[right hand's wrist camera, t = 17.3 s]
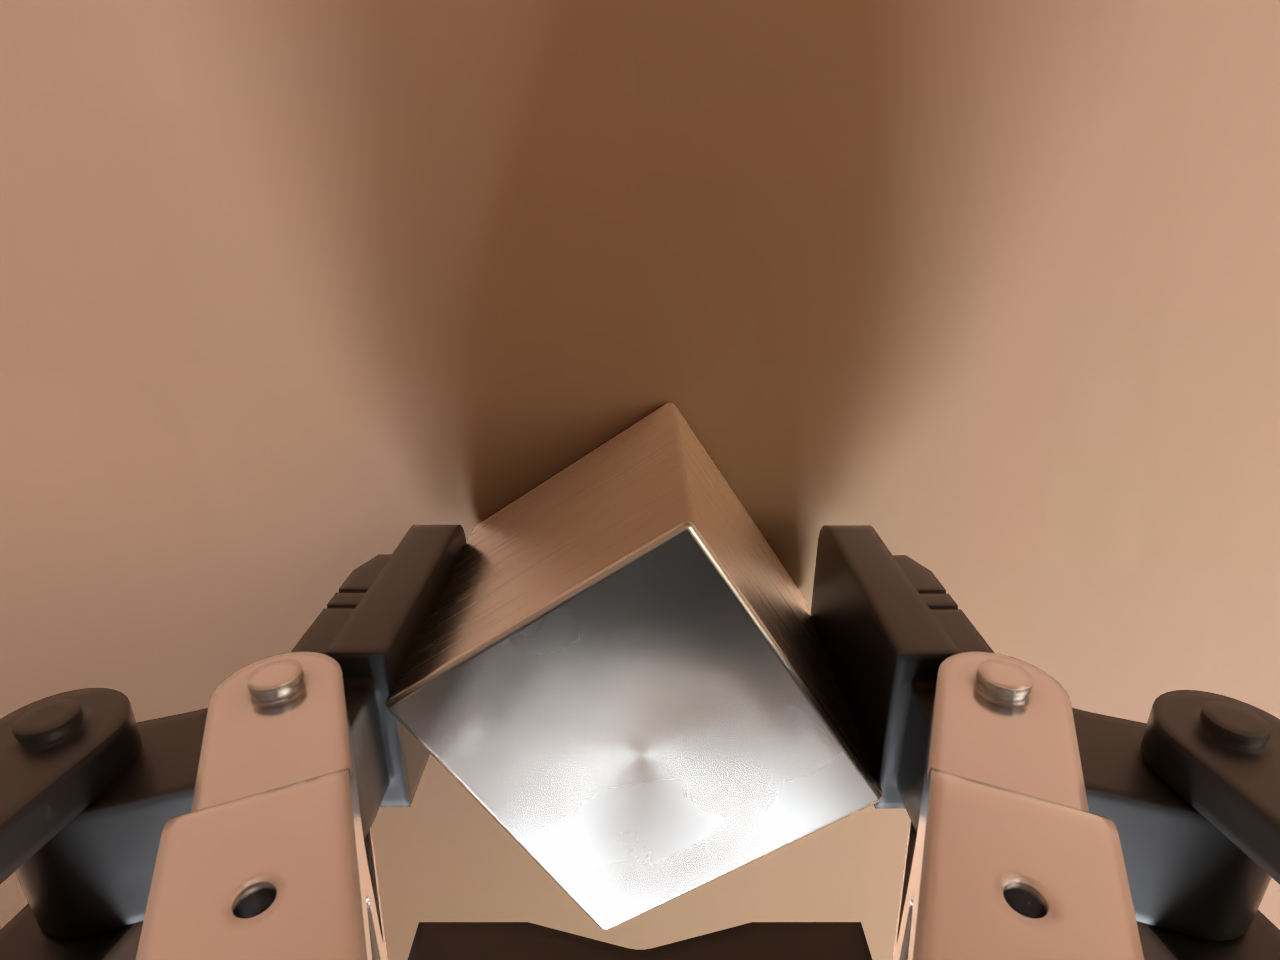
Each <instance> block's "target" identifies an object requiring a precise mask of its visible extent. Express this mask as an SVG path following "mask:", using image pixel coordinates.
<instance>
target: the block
mask: <svg viewBox="0 0 1280 960" xmlns="http://www.w3.org/2000/svg"><path fill="white" fill-rule="evenodd" d="M386 706H387V709H388V710H389V711H390V712H391V713H392V714H393V715H394V716H395V717H396V718H397V719H398V720H399V721H400V722H401V723H402V724H403V725H404V726H405V727H406V728H407V729H408V730H409V731H410V732H411V733H412V734H413V735H414V736H415V738H416V739H417V740H418V741H419V742H420V743H421V744H422V745H423V746H424V747H425V748H426V749H427V750H428V751H429V752H430V753H431V754H432V755H433V756H434V757H435V758H436V759H437V760H438V761H439V762H440V763H441V764H442V765H443V766H444V767H445V768H446V769H447V770H448V771H449V773H450V774H451V775H452V776H453V777H454V778H455V779H456V780H457V781H458V782H459V783H460V784H461V785H462V786H463V787H464V788H465V789H466V790H467V791H468V792H469V793H470V794H471V795H472V796H473V797H474V798H475V799H476V800H477V801H478V802H479V803H480V804H481V805H482V806H483V808H484V809H485V810H486V811H487V812H488V813H489V814H490V815H491V816H492V817H493V818H494V819H495V820H496V821H497V822H498V823H499V824H500V825H501V826H502V827H503V828H504V829H505V830H506V831H507V832H508V833H509V834H510V835H511V836H512V837H513V838H514V839H515V840H516V841H517V842H518V844H519V845H520V846H521V847H522V848H523V849H524V850H525V851H526V852H527V853H528V854H529V855H530V856H531V857H532V858H533V859H534V860H535V861H536V862H537V863H538V864H539V865H540V866H541V867H542V868H543V869H544V870H545V871H546V872H547V873H548V874H549V875H550V876H551V877H552V879H553V880H554V881H555V882H556V883H557V884H558V885H559V886H560V887H561V888H562V889H563V890H564V891H565V892H566V893H567V894H568V895H569V896H570V897H571V898H572V899H573V900H574V901H575V902H576V903H577V904H578V905H579V906H580V907H581V908H582V909H583V910H584V911H585V912H586V914H587V915H588V916H589V917H590V918H591V919H592V920H593V921H594V922H595V923H596V924H597V925H598V926H599V927H600V928H601V929H603V930H608V929H611V928H613V927H615V926H617V925H619V924H621V923H623V922H625V921H627V920H630V919H632V918H634V917H636V916H638V915H640V914H642V913H644V912H646V911H649V910H651V909H653V908H655V907H657V906H659V905H661V904H663V903H665V902H668V901H670V900H672V899H674V898H676V897H678V896H680V895H682V894H684V893H687V892H689V891H691V890H693V889H695V888H697V887H699V886H701V885H703V884H706V883H708V882H710V881H712V880H714V879H716V878H718V877H720V876H722V875H725V874H727V873H729V872H731V871H733V870H735V869H737V868H739V867H741V866H744V865H746V864H748V863H750V862H752V861H754V860H756V859H758V858H761V857H763V856H765V855H767V854H769V853H771V852H773V851H775V850H777V849H780V848H782V847H784V846H786V845H788V844H790V843H792V842H794V841H796V840H799V839H801V838H803V837H805V836H807V835H809V834H811V833H813V832H815V831H818V830H820V829H822V828H824V827H826V826H828V825H830V824H832V823H834V822H837V821H839V820H841V819H843V818H845V817H847V816H849V815H851V814H853V813H856V812H858V811H860V810H862V809H864V808H866V807H868V806H870V805H872V804H875V803H877V802H879V801H880V800H881V799H882V789H881V787H880V784H879V782H878V780H877V777H876V775H875V772H874V770H873V767H872V765H871V762H870V760H869V757H868V755H867V752H866V750H865V748H864V745H863V743H862V740H861V738H860V735H859V733H858V730H857V728H856V725H855V723H854V720H853V718H852V716H851V713H850V711H849V708H848V706H847V703H846V701H845V698H844V696H843V693H842V691H841V688H840V686H839V684H838V681H837V679H836V676H835V674H834V671H833V669H832V666H831V664H830V661H829V659H828V656H827V654H826V652H825V649H824V647H823V644H822V642H821V639H820V637H819V634H818V632H817V629H816V627H815V624H814V622H813V620H812V617H811V614H810V612H809V610H808V607H807V605H806V602H805V600H804V597H803V595H802V594H801V592H800V591H799V589H798V588H797V586H796V585H795V583H794V582H793V580H792V579H791V577H790V576H789V574H788V573H787V571H786V570H785V568H784V567H783V565H782V564H781V562H780V561H779V559H778V558H777V556H776V555H775V553H774V552H773V550H772V549H771V547H770V546H769V544H768V543H767V541H766V540H765V538H764V537H763V535H762V534H761V532H760V531H759V529H758V528H757V526H756V525H755V523H754V522H753V520H752V519H751V517H750V516H749V514H748V513H747V511H746V510H745V508H744V507H743V505H742V504H741V502H740V501H739V499H738V498H737V497H736V495H735V494H734V492H733V491H732V489H731V488H730V486H729V485H728V483H727V482H726V480H725V479H724V477H723V476H722V474H721V473H720V471H719V470H718V468H717V467H716V465H715V464H714V462H713V461H712V459H711V458H710V456H709V455H708V453H707V452H706V450H705V449H704V447H703V446H702V444H701V443H700V441H699V440H698V438H697V437H696V435H695V434H694V432H693V431H692V429H691V428H690V426H689V425H688V423H687V422H686V420H685V419H684V417H683V416H682V414H681V413H680V411H679V410H678V408H677V407H676V405H675V404H673V403H672V402H671V403H667V404H665V405H664V406H662V407H660V408H659V409H657V410H656V411H654V412H653V413H651V414H650V415H648V416H646V417H645V418H643V419H642V420H640V421H639V422H637V423H635V424H634V425H632V426H631V427H629V428H628V429H626V430H625V431H623V432H621V433H620V434H618V435H617V436H615V437H614V438H612V439H610V440H609V441H607V442H606V443H604V444H603V445H601V446H600V447H598V448H596V449H595V450H593V451H592V452H590V453H589V454H587V455H586V456H584V457H582V458H581V459H579V460H578V461H576V462H575V463H573V464H571V465H570V466H568V467H567V468H565V469H564V470H562V471H561V472H559V473H557V474H556V475H554V476H553V477H551V478H550V479H548V480H546V481H545V482H543V483H542V484H540V485H539V486H537V487H536V488H534V489H532V490H531V491H529V492H528V493H526V494H525V495H523V496H521V497H520V498H518V499H517V500H515V501H514V502H512V503H511V504H509V505H507V506H506V507H504V508H503V509H501V510H500V511H498V512H497V513H495V514H493V515H492V516H490V517H489V518H487V519H486V520H484V521H482V522H481V523H479V524H478V525H476V526H475V527H474V528H473V530H472V532H471V534H470V536H469V538H468V540H467V542H466V545H465V547H464V549H463V551H462V553H461V555H460V557H459V558H458V560H457V562H456V564H455V566H454V568H453V570H452V572H451V574H450V576H449V578H448V580H447V582H446V584H445V586H444V588H443V590H442V592H441V594H440V596H439V598H438V600H437V602H436V604H435V606H434V608H433V610H432V612H431V614H430V616H429V618H428V620H427V622H426V624H425V626H424V628H423V630H422V632H421V634H420V636H419V638H418V640H417V642H416V644H415V646H414V648H413V650H412V652H411V654H410V656H409V658H408V659H407V661H406V663H405V665H404V667H403V669H402V671H401V673H400V675H399V677H398V679H397V681H396V683H395V685H394V687H393V689H392V691H391V692H390V694H389V696H388V698H387V699H386Z"/></svg>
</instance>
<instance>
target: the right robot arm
mask: <svg viewBox="0 0 1280 960" xmlns="http://www.w3.org/2000/svg"><path fill="white" fill-rule="evenodd" d="M465 545H466V538H465V533H464V530H463V528H462V526H461V525H413V526H412V527H411V528H410V530H409V531H408V532H407V534H406V535H405V537H404V538H403V540H402V541H401V543H400V544H399V545H398V547H397V548H396V550H395V551H394V553H393V554H392V555H377V556H376V557H374V558H373V559H371V560H369V561H368V562H366V563H365V564H363V565H361V566H360V567H358V568H357V569H355V570H353V572H352V573H351V574H350V576H349V577H348V578H347V579H346V581H345V582H344V583H343V585H342V586H341V587H340V589H339V593H336V594H335V595H334V596H333V598H332V599H331V600H330V602H329V603H328V604H327V609H323V611H322V612H321V613H320V615H319V616H318V617H317V619H316V620H315V621H314V623H313V624H312V625H311V626H310V628H309V629H308V630H307V632H306V633H305V634H304V636H303V637H302V638H301V639H300V641H299V642H298V643H297V645H296V646H295V647H294V649H293V650H292V651H291V652H290V653H284V654H278V655H275V656H271V657H267V658H264V659H261V660H258V661H256V662H254V663H251V664H249V665H247V666H245V667H243V668H241V669H239V670H238V671H236V672H235V673H233V674H232V675H230V676H229V677H227V678H226V679H225V680H224V681H223V682H222V683H221V684H220V685H219V686H218V687H217V688H216V689H215V691H214V692H213V694H212V696H211V698H210V701H209V706H208V708H206V709H202V710H198V711H193V712H188V713H183V714H178V715H173V716H168V717H163V718H158V719H153V720H148V721H143V722H138V723H136V721H135V717H134V714H133V711H132V708H131V705H130V702H129V700H128V698H127V697H126V696H125V695H124V694H123V693H121V692H119V691H116V690H112V689H107V688H87V689H80V690H73V691H69V692H64V693H60V694H57V695H53V696H50V697H47V698H44V699H41V700H39V701H36V702H33V703H31V704H29V705H27V706H24V707H22V708H20V709H18V710H16V711H14V712H12V713H10V714H8V715H7V716H5V717H4V718H2V719H0V884H1V883H2V882H3V881H5V880H6V879H7V878H8V877H9V876H10V875H11V874H12V873H13V872H16V875H17V877H18V879H19V882H20V884H21V886H22V889H23V891H24V893H25V896H26V898H27V900H28V903H29V904H27V905H26V906H25V907H24V908H23V909H22V910H21V911H20V912H19V913H18V914H17V915H16V916H15V917H14V918H13V919H12V920H11V921H10V922H9V923H7V924H6V925H5V926H4V927H3V928H2V929H1V930H0V960H388V958H387V950H386V942H385V934H384V926H383V918H382V910H381V902H380V894H379V886H378V878H377V870H376V862H375V854H374V846H373V841H372V835H371V830H370V828H371V826H372V824H373V821H374V819H375V817H376V814H377V812H378V810H379V807H410V805H411V802H412V800H413V797H414V794H415V792H416V789H417V786H418V784H419V781H420V778H421V776H422V773H423V770H424V768H425V765H426V762H427V760H428V757H429V754H430V752H429V751H428V750H427V749H426V748H425V747H424V746H423V745H422V744H421V743H420V742H419V741H418V740H417V739H416V738H415V736H414V735H413V734H412V733H411V732H410V731H409V730H408V729H407V728H406V727H405V726H404V725H403V724H402V723H401V722H400V721H399V720H398V719H397V718H396V717H395V716H394V715H393V714H392V713H391V712H390V711H389V710H388V709H387V706H386V699H387V698H388V696H389V694H390V692H391V691H392V689H393V687H394V685H395V683H396V681H397V679H398V677H399V675H400V673H401V671H402V669H403V667H404V665H405V663H406V661H407V659H408V658H409V656H410V654H411V652H412V650H413V648H414V646H415V644H416V642H417V640H418V638H419V636H420V634H421V632H422V630H423V628H424V626H425V624H426V622H427V620H428V618H429V616H430V614H431V612H432V610H433V608H434V606H435V604H436V602H437V600H438V598H439V596H440V594H441V592H442V590H443V588H444V586H445V584H446V582H447V580H448V578H449V576H450V574H451V572H452V570H453V568H454V566H455V564H456V562H457V560H458V558H459V557H460V555H461V553H462V551H463V549H464V547H465ZM811 617H812V620H813V622H814V624H815V627H816V629H817V632H818V634H819V637H820V639H821V642H822V644H823V647H824V649H825V652H826V654H827V656H828V659H829V661H830V664H831V666H832V669H833V671H834V674H835V676H836V679H837V681H838V684H839V686H840V688H841V691H842V693H843V696H844V698H845V701H846V703H847V706H848V708H849V711H850V713H851V716H852V718H853V720H854V723H855V725H856V728H857V730H858V733H859V735H860V738H861V740H862V743H863V745H864V748H865V750H866V752H867V755H868V757H869V760H870V762H871V765H872V767H873V770H874V772H875V775H876V777H877V780H878V782H879V784H880V787H881V789H882V799H881V800H880V801H879V802H877V803H875V804H874V806H875V808H906V810H907V812H908V814H909V817H910V819H911V824H910V830H909V835H908V841H907V846H906V854H905V862H904V870H903V878H902V886H901V894H900V902H899V910H898V918H897V926H896V934H895V942H894V950H893V958H892V960H1280V930H1279V929H1278V928H1277V927H1276V926H1275V925H1274V924H1273V923H1271V922H1270V921H1269V920H1268V919H1267V918H1266V917H1265V916H1264V915H1263V914H1262V913H1261V912H1260V911H1259V910H1258V907H1259V905H1260V903H1261V900H1262V898H1263V896H1264V893H1265V891H1266V889H1267V887H1268V884H1269V882H1270V880H1271V877H1272V878H1273V879H1274V880H1276V881H1277V882H1278V883H1279V884H1280V720H1279V719H1278V718H1276V717H1274V716H1272V715H1271V714H1269V713H1267V712H1265V711H1263V710H1261V709H1259V708H1256V707H1254V706H1252V705H1249V704H1247V703H1244V702H1241V701H1239V700H1236V699H1233V698H1229V697H1226V696H1223V695H1218V694H1214V693H1209V692H1203V691H1194V690H1177V691H1171V692H1167V693H1165V694H1162V695H1160V696H1159V697H1158V698H1157V699H1156V700H1155V702H1154V704H1153V706H1152V710H1151V713H1150V716H1149V719H1148V722H1147V724H1145V723H1140V722H1135V721H1130V720H1125V719H1120V718H1115V717H1110V716H1105V715H1100V714H1095V713H1091V712H1086V711H1082V710H1078V709H1075V708H1072V705H1071V701H1070V698H1069V696H1068V694H1067V692H1066V691H1065V689H1064V688H1063V687H1062V686H1061V685H1060V684H1059V683H1058V682H1057V681H1056V680H1055V679H1054V678H1053V677H1051V676H1050V675H1048V674H1047V673H1045V672H1044V671H1042V670H1041V669H1039V668H1037V667H1035V666H1033V665H1031V664H1029V663H1026V662H1024V661H1022V660H1019V659H1016V658H1013V657H1009V656H1005V655H1002V654H996V653H994V652H993V650H992V649H991V648H990V647H989V645H988V644H987V643H986V641H985V640H984V639H983V638H982V636H981V635H980V634H979V632H978V631H977V630H976V628H975V627H974V626H973V625H972V623H971V622H970V621H969V619H968V618H967V617H966V616H965V614H964V613H963V612H962V610H958V605H957V604H956V603H955V601H954V600H953V599H952V598H951V596H950V595H949V594H946V590H945V589H944V587H943V586H942V585H941V583H940V582H939V581H938V580H937V578H936V577H935V576H934V574H933V573H932V572H931V571H930V570H928V569H927V568H925V567H923V566H922V565H920V564H918V563H917V562H915V561H914V560H912V559H910V558H909V557H907V556H906V555H892V554H891V553H890V551H889V550H888V548H887V547H886V546H885V544H884V543H883V541H882V540H881V538H880V537H879V536H878V534H877V533H876V531H875V530H874V528H873V527H872V526H823V527H822V528H821V531H820V534H819V539H818V547H817V557H816V567H815V577H814V587H813V597H812V607H811ZM408 960H872V957H871V954H870V951H869V948H868V944H867V941H866V938H865V934H864V931H863V928H862V925H861V922H752V923H748V924H744V925H740V926H737V927H733V928H729V929H725V930H721V931H717V932H713V933H710V934H706V935H702V936H698V937H694V938H690V939H687V940H683V941H679V942H675V943H671V944H667V945H664V946H660V947H656V948H652V949H646V950H634V949H628V948H624V947H620V946H616V945H613V944H609V943H605V942H601V941H597V940H593V939H590V938H586V937H582V936H578V935H574V934H570V933H567V932H563V931H559V930H555V929H551V928H547V927H543V926H540V925H536V924H532V923H528V922H419V925H418V928H417V931H416V934H415V938H414V941H413V944H412V948H411V951H410V954H409V957H408Z"/></svg>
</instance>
